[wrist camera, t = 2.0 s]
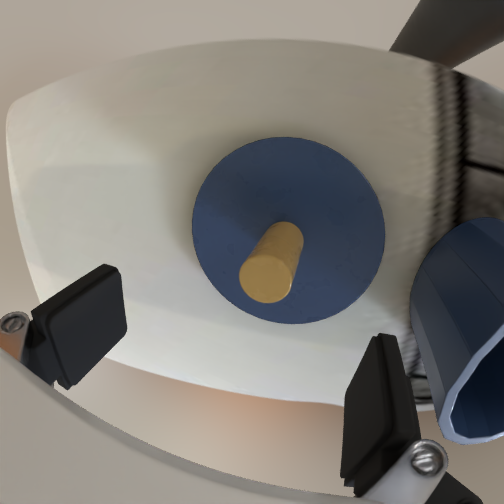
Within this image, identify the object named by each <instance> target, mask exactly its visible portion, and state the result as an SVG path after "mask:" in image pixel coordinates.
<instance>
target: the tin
mask: <svg viewBox="0 0 504 504" xmlns="http://www.w3.org/2000/svg"><path fill="white" fill-rule="evenodd" d="M410 317H411V325H412V328H413V331H414V335H415V338H416V341H417V344H418V347H419V351H420V354H421V357H422V361H423V364H424V368H425V371H426V375H427V379H428V383H429V387H430V391H431V395H432V399H433V404H434V408H435V413H436V418H437V422H438V425H439V427H440V429H441V432H442V434H443V437H444V438H445V439H448V440H450V441H453V442H456V443H458V444H461V445H465V444H476V443H483V442H484V443H485V442H488V441H490V440H493V439H496V438H498V437H501V436H503V435H504V221H502V220H500V219H496V218H489V217H485V218H477V219H473V220H469V221H467V222H465V223H462V224H460V225H459V226H457V227H455V228H454V229H452V230H451V231H450V232H448V233H447V234H446V235H445V236H443V237H442V238H441V239H440V240H439V241H438V242H437V243H436V245H435V246H434V247H433V248H432V249H431V250H430V252H429V253H428V255H427V256H426V258H425V259H424V261H423V263H422V265H421V266H420V268H419V270H418V273H417V275H416V277H415V280H414V283H413V287H412V291H411V296H410Z"/></svg>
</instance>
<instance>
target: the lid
mask: <svg viewBox="0 0 504 504" xmlns="http://www.w3.org/2000/svg"><path fill="white" fill-rule="evenodd" d="M192 235H193V242H194V247H195V251H196V254H197V257H198V260H199V262H200V265H201V267H202V269H203V270H204V272H205V274H206V276H207V277H208V279H209V280H210V282H211V283H212V284H213V286H214V287H215V288H216V289H217V290H218V291H219V292H220V294H222V295H223V296H224V297H225V298H226V299H227V300H228V301H229V302H231V303H232V304H234V305H235V306H236V307H238V308H239V309H241V310H243V311H245V312H247V313H248V314H251V315H253V316H255V317H258V318H261V319H264V320H267V321H271V322H277V323H285V324H303V323H310V322H315V321H319V320H322V319H326V318H328V317H330V316H333V315H335V314H337V313H339V312H340V311H342V310H344V309H346V308H347V307H348V306H350V305H351V304H352V303H353V302H355V301H356V300H357V299H358V298H359V297H360V296H361V295H362V294H363V293H364V291H365V290H366V289H367V287H368V286H369V285H370V284H371V282H372V280H373V278H374V276H375V275H376V273H377V270H378V268H379V265H380V263H381V259H382V255H383V251H384V242H385V227H384V219H383V214H382V210H381V207H380V204H379V201H378V199H377V196H376V194H375V192H374V191H373V189H372V187H371V185H370V183H369V182H368V181H367V179H366V178H365V177H364V175H363V174H362V173H361V172H360V171H359V170H358V169H357V168H356V167H355V165H354V164H353V163H351V162H350V161H349V160H348V159H346V158H345V157H344V156H342V155H341V154H340V153H338V152H336V151H334V150H333V149H331V148H329V147H327V146H324V145H322V144H319V143H317V142H314V141H310V140H306V139H301V138H292V137H275V138H268V139H263V140H258V141H255V142H252V143H249V144H246V145H244V146H242V147H240V148H239V149H237V150H235V151H233V152H232V153H230V154H229V155H228V156H226V157H225V158H223V159H222V160H221V161H220V162H219V163H218V164H217V165H216V166H215V167H214V168H213V170H212V171H211V172H210V173H209V175H208V176H207V178H206V179H205V181H204V183H203V184H202V186H201V188H200V191H199V193H198V195H197V198H196V202H195V206H194V210H193V218H192Z"/></svg>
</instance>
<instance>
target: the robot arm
mask: <svg viewBox="0 0 504 504" xmlns="http://www.w3.org/2000/svg"><path fill="white" fill-rule="evenodd" d="M31 314H32V317H33V320H31V321H30V319H29V317H28V315H27V314H26V313H24V312H19V311H18V312H12V313H8V314H6V315H5V316H3V317H2V318H1V319H0V504H483V502H482V500H481V499H480V498H479V497H478V496H476V495H475V494H474V493H473V492H471V491H470V490H469V489H468V488H466V487H465V486H464V485H462V484H461V483H460V482H459V481H457V480H456V479H455V478H454V477H453V476H451V475H450V474H449V473H447V472H446V470H447V467H448V456H447V453H446V451H445V450H444V448H443V447H442V446H441V445H440V444H439V443H437V442H435V441H433V440H429V439H421V433H420V427H419V421H418V416H417V410H416V405H415V400H414V395H413V390H412V386H411V381H410V379H409V377H408V376H406V375H405V370H404V366H403V362H402V358H401V354H400V350H399V346H398V342H397V338H396V336H394V335H389V334H383V333H379V334H378V336H377V337H375V336H373V337H372V338H371V340H370V343H369V345H368V347H367V349H366V351H365V354H364V356H363V358H362V360H361V362H360V364H359V366H358V368H357V370H356V372H355V374H354V376H353V378H352V380H351V382H350V384H349V386H348V388H347V390H346V394H345V401H344V428H343V446H342V459H341V470H340V477H341V478H345V480H344V486H347V487H354V494H355V496H354V497H347V496H339V495H331V494H324V493H316V492H309V491H303V490H297V489H290V488H286V487H280V486H276V485H271V484H266V483H262V482H258V481H254V480H250V479H246V478H242V477H238V476H235V475H231V474H228V473H224V472H221V471H218V470H215V469H211V468H209V467H206V466H203V465H200V464H197V463H194V462H191V461H189V460H186V459H184V458H181V457H178V456H176V455H173V454H171V453H168V452H166V451H163V450H161V449H159V448H157V447H155V446H152V445H150V444H148V443H146V442H144V441H142V440H140V439H138V438H135V437H133V436H131V435H130V434H128V433H126V432H124V431H122V430H120V429H118V428H116V427H114V426H112V425H110V424H109V423H107V422H105V421H103V420H102V419H100V418H98V417H97V416H95V415H93V414H92V413H90V412H88V411H87V410H85V409H84V408H82V407H80V406H79V405H77V404H76V403H74V402H73V401H71V400H70V399H68V398H67V397H65V396H64V395H62V394H61V393H59V392H58V391H57V390H55V389H54V382H55V380H57V382H58V384H59V385H61V386H62V387H64V388H65V389H66V390H69V389H70V387H71V386H72V385H76V384H77V383H78V382H79V381H80V380H81V379H82V378H83V377H84V376H85V375H86V374H87V373H88V372H89V371H90V370H91V369H92V368H93V367H94V366H95V365H96V364H97V363H98V362H99V361H100V360H101V359H102V358H103V357H104V356H105V355H106V354H107V353H108V352H109V351H110V350H111V349H112V348H113V347H114V346H115V345H116V344H117V343H118V342H119V341H120V340H121V339H122V338H123V337H124V335H125V334H126V332H127V323H126V316H125V308H124V300H123V290H122V280H121V274H120V273H119V271H118V269H117V268H116V267H113V266H110V265H107V264H102V265H101V266H99V267H97V268H96V269H94V270H93V271H91V272H89V273H88V274H86V275H85V276H83V277H81V278H80V279H78V280H77V281H75V282H74V283H72V284H70V285H69V286H67V287H66V288H64V289H63V290H61V291H60V292H58V293H57V294H55V295H54V296H52V297H51V298H49V299H48V300H46V301H45V302H43V303H42V304H40V305H39V306H37V307H36V308H35V309H33V310H32V311H31Z"/></svg>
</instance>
